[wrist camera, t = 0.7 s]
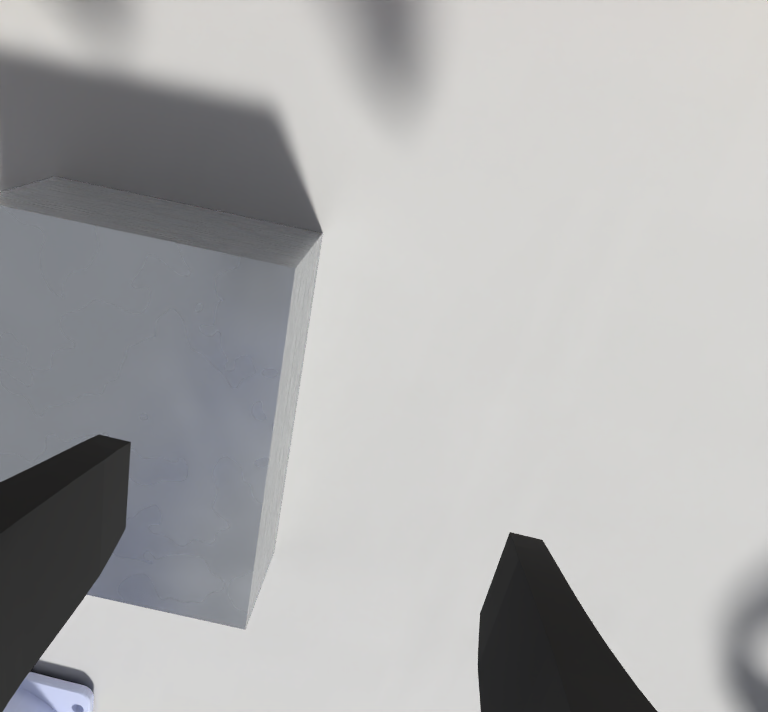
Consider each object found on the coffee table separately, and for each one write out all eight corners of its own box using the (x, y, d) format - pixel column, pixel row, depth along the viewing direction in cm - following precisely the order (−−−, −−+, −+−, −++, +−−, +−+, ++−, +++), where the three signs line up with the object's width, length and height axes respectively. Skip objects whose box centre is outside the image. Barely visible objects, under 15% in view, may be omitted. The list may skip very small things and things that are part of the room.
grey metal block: (276, 545, 25) (245, 629, 21) (65, 499, 25) (-2, 575, 21) (325, 230, 20) (295, 268, 16) (61, 174, 20) (-27, 199, 16)
